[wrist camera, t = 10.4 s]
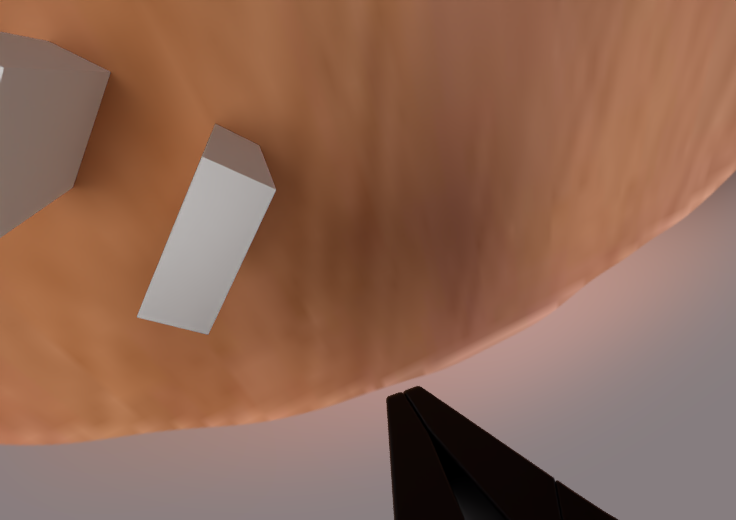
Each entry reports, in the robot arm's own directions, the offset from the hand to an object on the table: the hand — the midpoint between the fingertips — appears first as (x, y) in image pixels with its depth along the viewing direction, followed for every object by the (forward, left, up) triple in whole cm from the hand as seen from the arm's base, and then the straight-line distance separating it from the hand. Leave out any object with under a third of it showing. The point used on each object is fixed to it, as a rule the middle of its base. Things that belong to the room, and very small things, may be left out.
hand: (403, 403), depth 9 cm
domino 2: (+3, -3, -13) cm, 13 cm away
